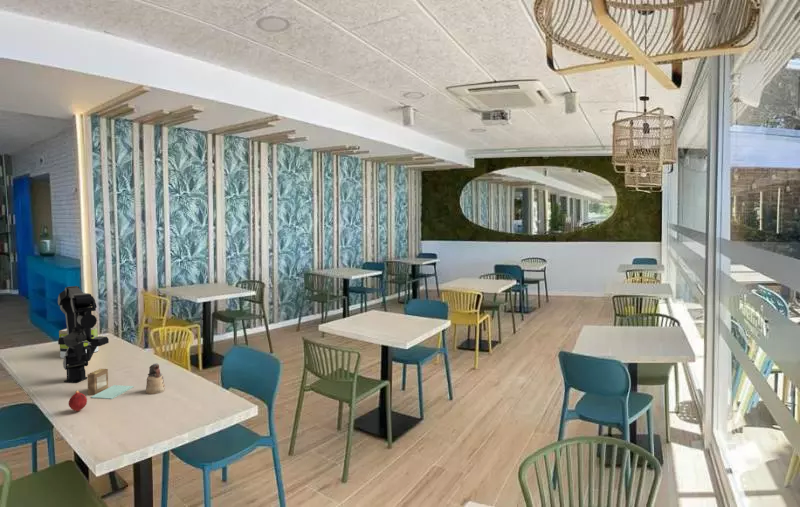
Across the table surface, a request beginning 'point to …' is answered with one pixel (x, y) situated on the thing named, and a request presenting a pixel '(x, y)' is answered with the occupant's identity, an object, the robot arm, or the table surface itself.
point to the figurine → (155, 380)
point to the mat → (112, 392)
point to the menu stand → (97, 381)
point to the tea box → (93, 332)
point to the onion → (77, 401)
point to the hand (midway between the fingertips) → (84, 360)
